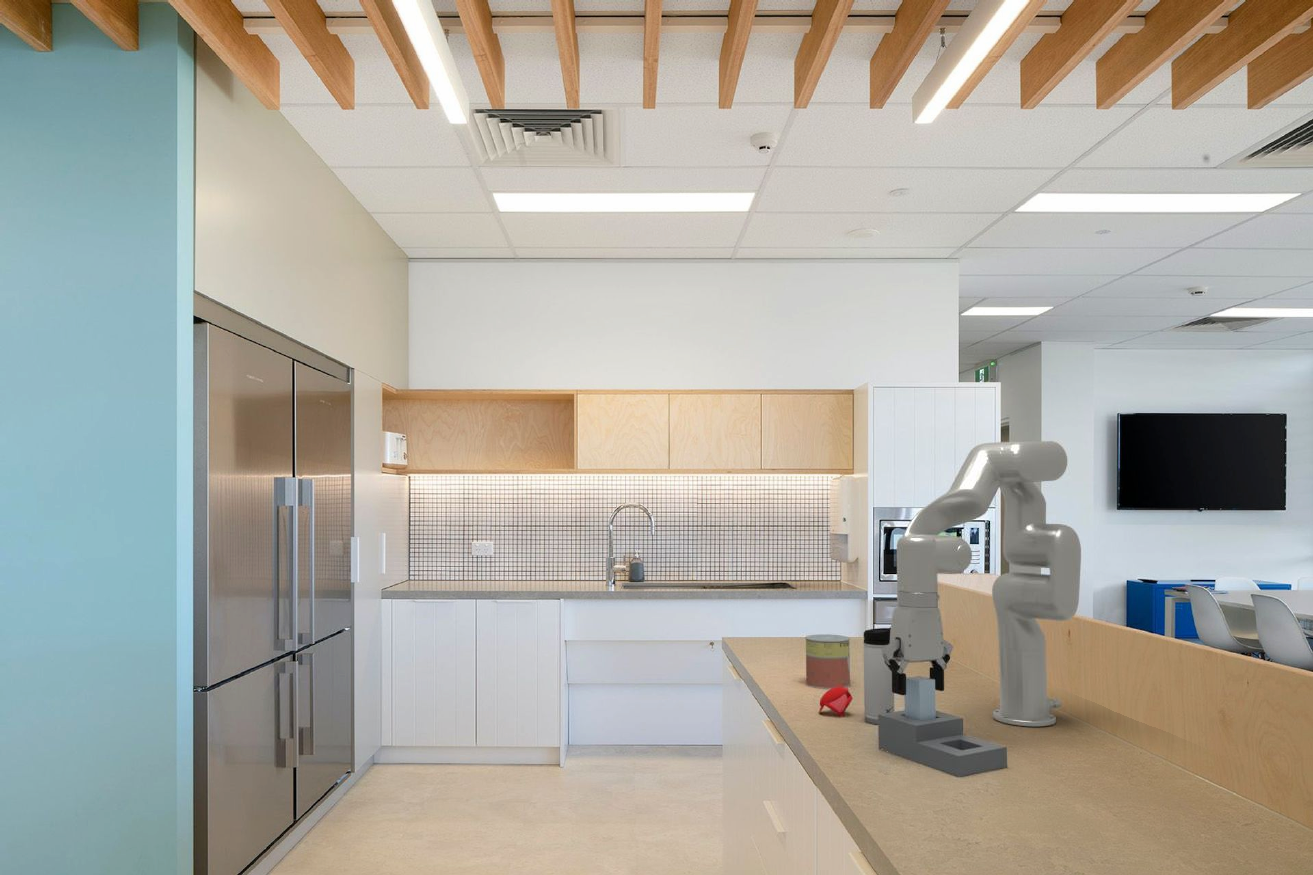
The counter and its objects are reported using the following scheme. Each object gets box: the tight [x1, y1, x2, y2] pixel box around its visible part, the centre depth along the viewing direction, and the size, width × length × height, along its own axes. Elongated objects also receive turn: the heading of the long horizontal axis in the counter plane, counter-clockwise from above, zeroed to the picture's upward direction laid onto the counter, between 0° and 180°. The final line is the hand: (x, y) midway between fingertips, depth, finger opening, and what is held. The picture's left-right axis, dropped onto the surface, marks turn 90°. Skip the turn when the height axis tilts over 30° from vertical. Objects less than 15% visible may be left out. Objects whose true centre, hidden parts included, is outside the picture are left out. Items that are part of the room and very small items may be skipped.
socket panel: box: [877, 709, 1008, 778], centre depth 167 cm, size 12×20×6 cm, turn 28°
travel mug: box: [862, 626, 895, 726], centre depth 195 cm, size 6×7×20 cm
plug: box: [903, 675, 937, 721], centre depth 172 cm, size 4×5×10 cm
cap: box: [818, 687, 853, 717], centre depth 201 cm, size 8×6×6 cm
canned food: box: [805, 634, 851, 690], centre depth 233 cm, size 11×11×12 cm
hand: (918, 691), depth 172 cm, fingers open, 9 cm apart
